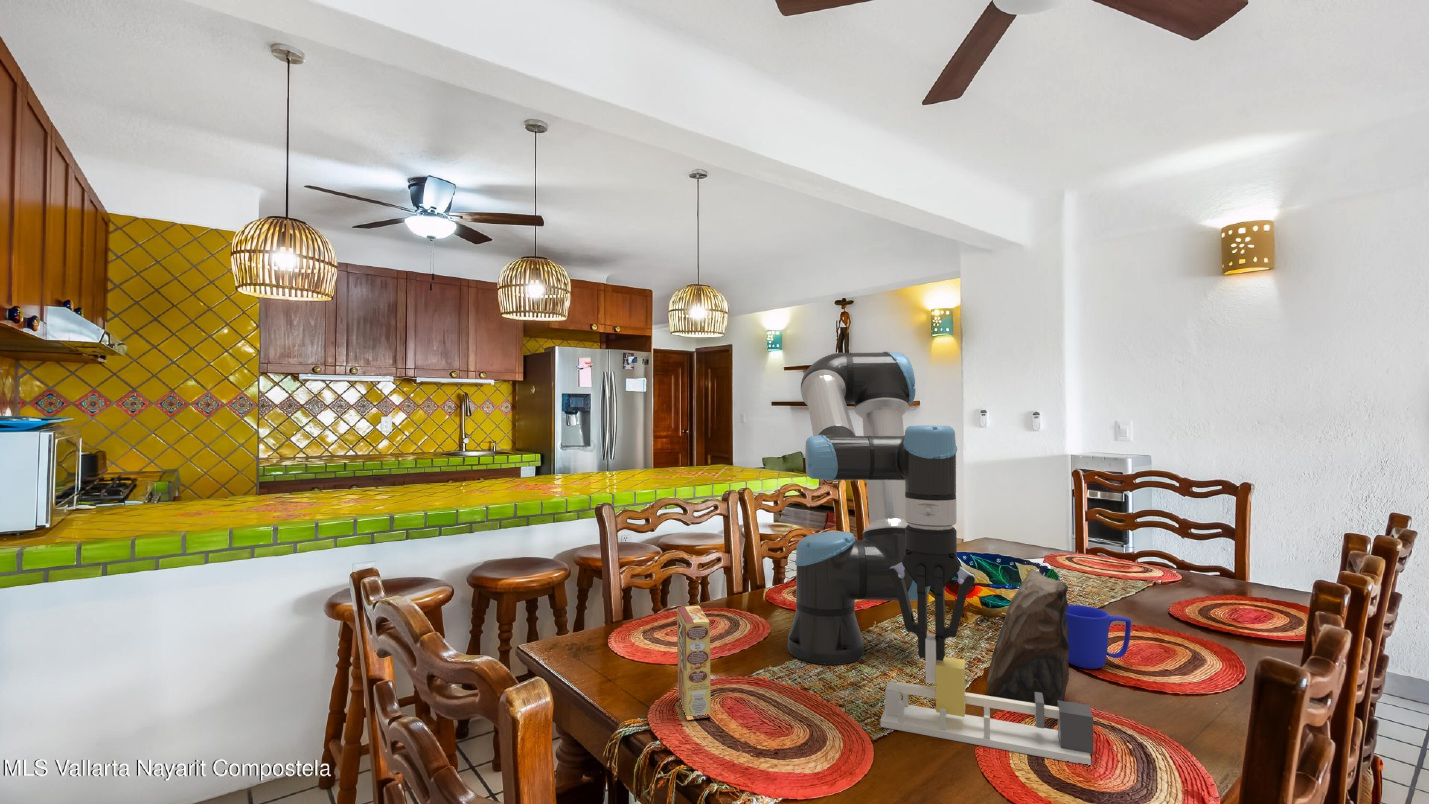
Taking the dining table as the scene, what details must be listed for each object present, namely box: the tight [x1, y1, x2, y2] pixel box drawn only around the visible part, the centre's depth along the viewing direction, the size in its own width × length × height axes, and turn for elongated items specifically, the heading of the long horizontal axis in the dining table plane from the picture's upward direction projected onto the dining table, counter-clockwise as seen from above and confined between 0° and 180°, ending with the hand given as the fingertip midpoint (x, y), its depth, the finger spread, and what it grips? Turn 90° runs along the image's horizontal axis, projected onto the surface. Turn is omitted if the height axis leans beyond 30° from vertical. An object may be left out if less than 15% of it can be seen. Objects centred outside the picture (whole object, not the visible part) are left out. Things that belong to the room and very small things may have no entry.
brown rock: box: [986, 569, 1070, 707], centre depth 109 cm, size 13×13×20 cm
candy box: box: [676, 605, 712, 716], centre depth 105 cm, size 9×4×15 cm, turn 13°
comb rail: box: [879, 681, 1094, 766], centre depth 96 cm, size 28×7×7 cm, turn 67°
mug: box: [1066, 604, 1132, 670], centre depth 122 cm, size 8×12×10 cm
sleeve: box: [935, 656, 966, 717], centre depth 98 cm, size 4×4×7 cm
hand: (931, 679), depth 98 cm, fingers closed
